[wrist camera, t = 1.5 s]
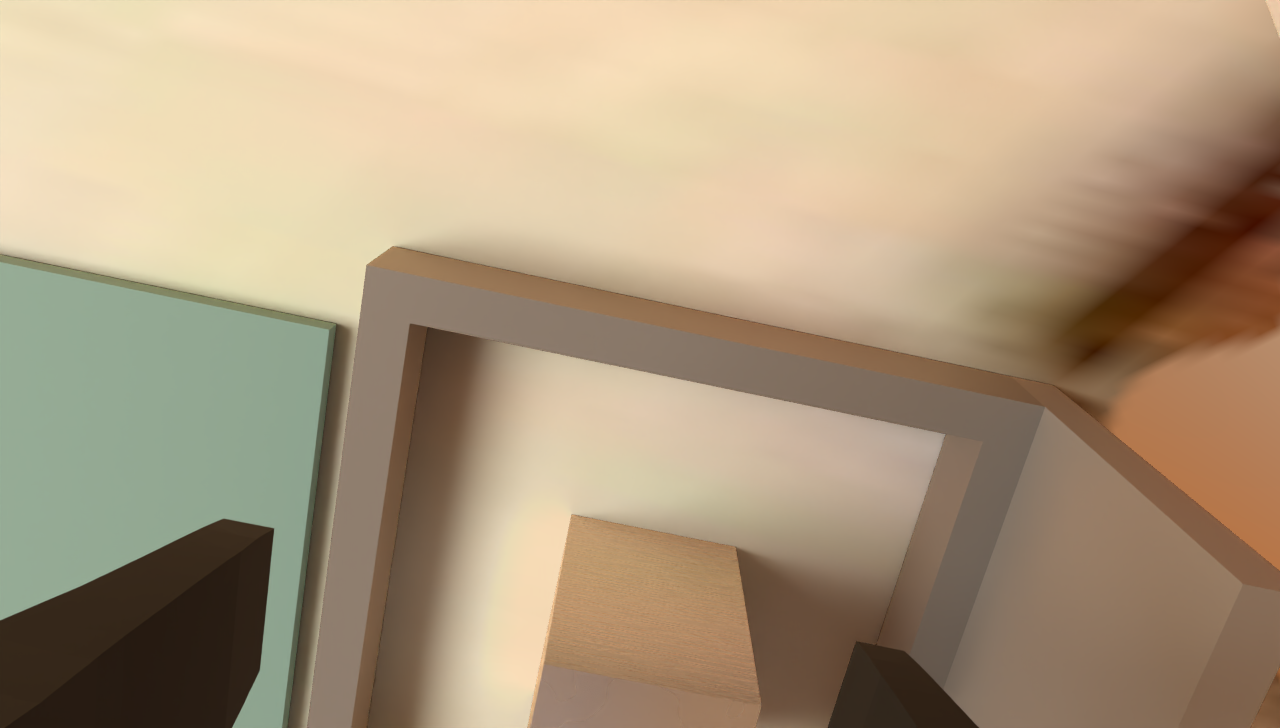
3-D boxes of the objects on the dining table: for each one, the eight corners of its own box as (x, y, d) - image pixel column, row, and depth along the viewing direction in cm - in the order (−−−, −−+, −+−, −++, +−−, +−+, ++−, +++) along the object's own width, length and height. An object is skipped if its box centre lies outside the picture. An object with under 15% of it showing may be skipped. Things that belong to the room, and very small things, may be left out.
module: (689, 718, 25) (699, 916, 19) (534, 688, 24) (497, 881, 19) (735, 546, 23) (761, 705, 17) (571, 513, 23) (543, 663, 17)
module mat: (283, 759, 25) (276, 773, 25) (-28, 702, 25) (-42, 715, 24) (336, 323, 22) (329, 329, 21) (-27, 249, 21) (-43, 253, 21)
